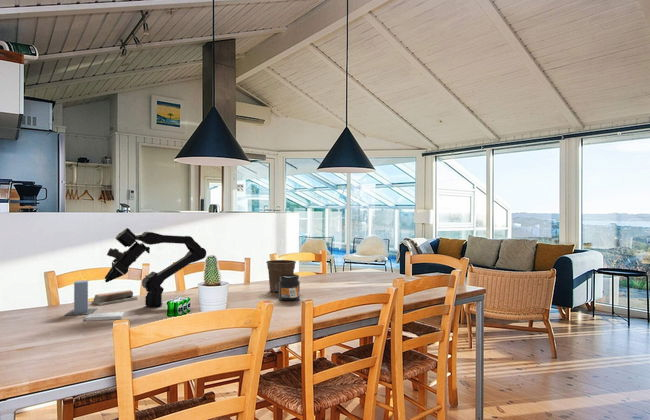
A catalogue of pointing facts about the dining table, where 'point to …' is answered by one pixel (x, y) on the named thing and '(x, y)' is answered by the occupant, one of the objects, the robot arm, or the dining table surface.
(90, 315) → the strip
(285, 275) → the supplement container
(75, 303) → the stub
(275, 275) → the plant pot
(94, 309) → the coaster
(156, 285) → the robot arm
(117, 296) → the packaged product
